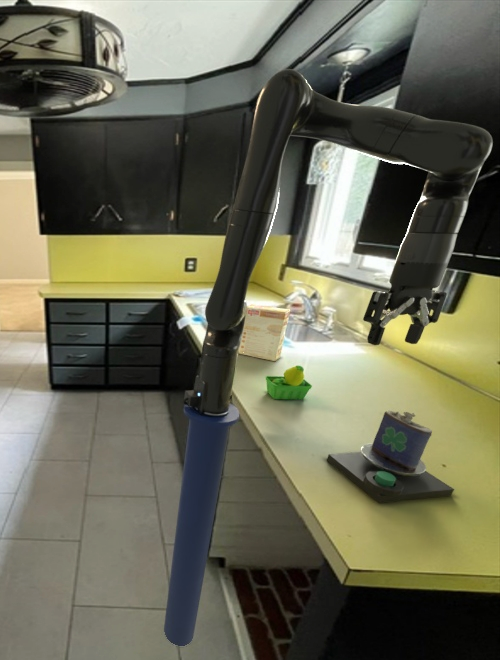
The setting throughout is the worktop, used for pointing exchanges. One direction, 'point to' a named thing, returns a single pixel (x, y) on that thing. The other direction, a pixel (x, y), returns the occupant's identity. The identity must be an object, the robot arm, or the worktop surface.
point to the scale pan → (389, 463)
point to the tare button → (385, 479)
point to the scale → (401, 490)
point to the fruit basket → (288, 384)
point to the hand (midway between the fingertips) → (391, 343)
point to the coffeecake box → (264, 332)
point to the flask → (401, 439)
